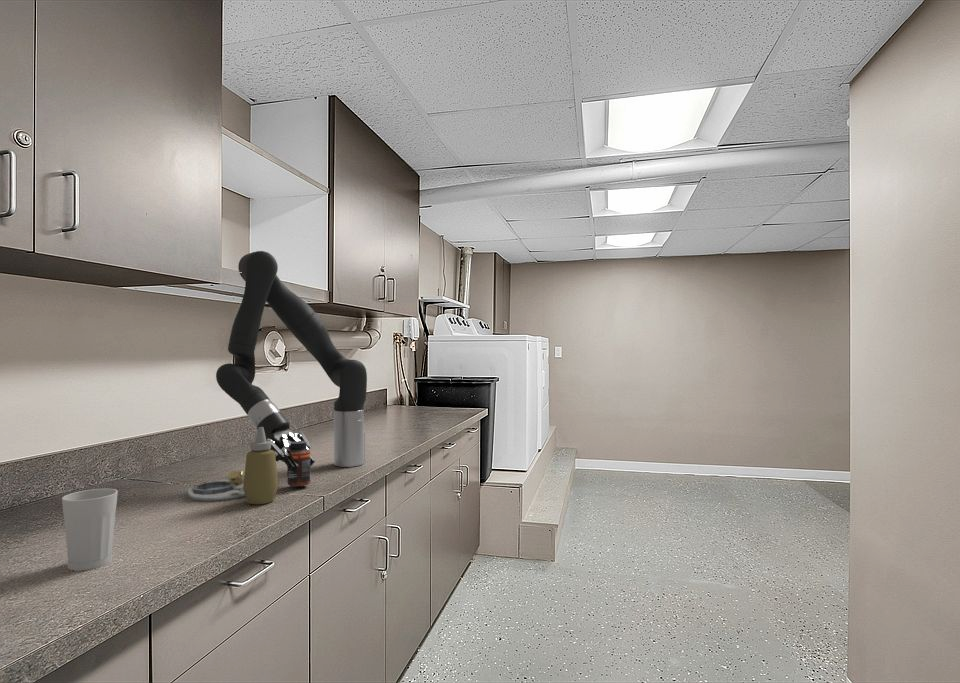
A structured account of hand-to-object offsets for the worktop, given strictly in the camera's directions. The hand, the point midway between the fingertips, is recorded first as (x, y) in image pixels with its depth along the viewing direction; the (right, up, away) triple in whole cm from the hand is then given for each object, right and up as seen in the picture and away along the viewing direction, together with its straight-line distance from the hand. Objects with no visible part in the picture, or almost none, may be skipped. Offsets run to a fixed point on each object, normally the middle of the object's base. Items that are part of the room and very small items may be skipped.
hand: (304, 466), depth 148 cm
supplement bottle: (-2, -5, +1) cm, 5 cm away
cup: (-21, -6, -51) cm, 55 cm away
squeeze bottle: (-6, -6, -13) cm, 16 cm away
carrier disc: (-19, -6, -5) cm, 21 cm away
